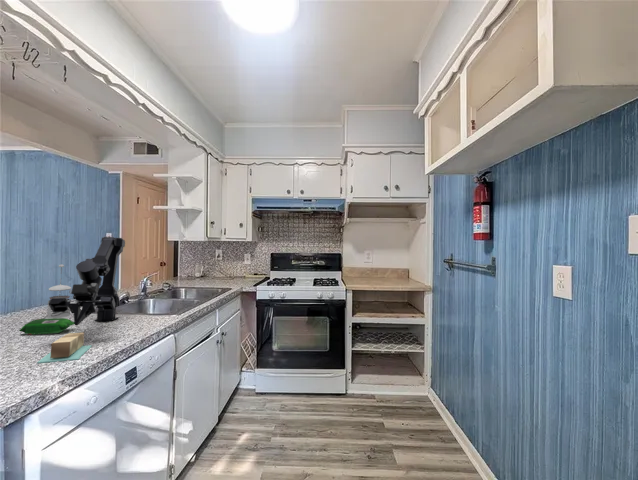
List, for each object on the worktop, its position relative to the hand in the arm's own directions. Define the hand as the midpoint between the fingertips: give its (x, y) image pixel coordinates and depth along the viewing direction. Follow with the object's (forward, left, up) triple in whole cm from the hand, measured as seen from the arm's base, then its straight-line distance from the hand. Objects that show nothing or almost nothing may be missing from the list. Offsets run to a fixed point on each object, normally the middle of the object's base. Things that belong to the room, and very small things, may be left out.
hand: (76, 324), depth 99 cm
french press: (-27, -41, -8) cm, 50 cm away
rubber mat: (+6, +4, -8) cm, 10 cm away
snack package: (-9, -24, -8) cm, 27 cm away
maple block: (0, 0, -5) cm, 5 cm away
